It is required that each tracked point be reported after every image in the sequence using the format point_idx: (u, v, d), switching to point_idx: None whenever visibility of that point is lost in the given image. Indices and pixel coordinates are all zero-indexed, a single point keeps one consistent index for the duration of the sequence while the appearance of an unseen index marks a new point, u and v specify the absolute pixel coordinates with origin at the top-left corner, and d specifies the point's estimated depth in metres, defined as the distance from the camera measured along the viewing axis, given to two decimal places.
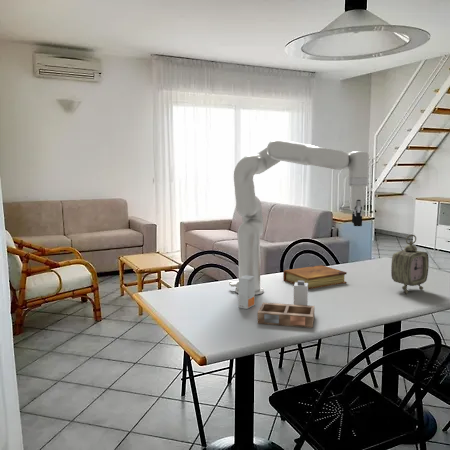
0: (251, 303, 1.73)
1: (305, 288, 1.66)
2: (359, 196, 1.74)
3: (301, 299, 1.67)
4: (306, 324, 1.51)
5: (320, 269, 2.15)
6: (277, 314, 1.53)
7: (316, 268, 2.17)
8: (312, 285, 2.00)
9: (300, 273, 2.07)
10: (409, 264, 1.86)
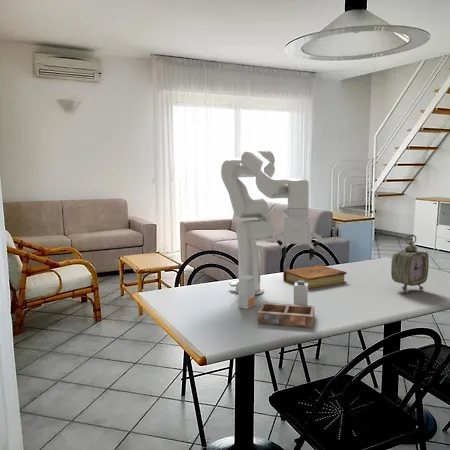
0: (251, 303, 1.73)
1: (305, 288, 1.66)
2: (311, 227, 1.62)
3: (301, 299, 1.67)
4: (306, 324, 1.51)
5: (320, 269, 2.15)
6: (277, 314, 1.53)
7: (316, 268, 2.17)
8: (312, 285, 2.00)
9: (300, 273, 2.07)
10: (409, 264, 1.86)
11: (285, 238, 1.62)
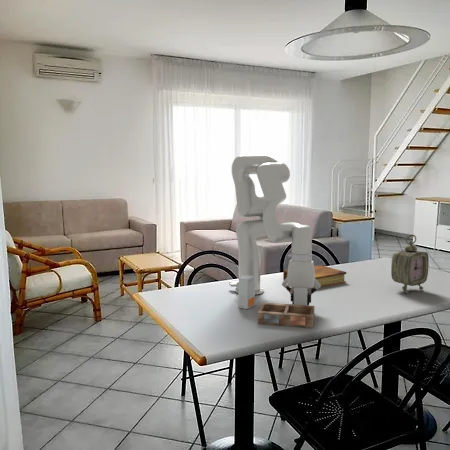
0: (251, 303, 1.73)
1: (305, 288, 1.66)
2: (314, 271, 1.67)
3: (301, 299, 1.67)
4: (306, 324, 1.51)
5: (320, 269, 2.15)
6: (277, 314, 1.53)
7: (316, 268, 2.17)
8: None
9: None
10: (409, 264, 1.86)
11: (289, 282, 1.67)
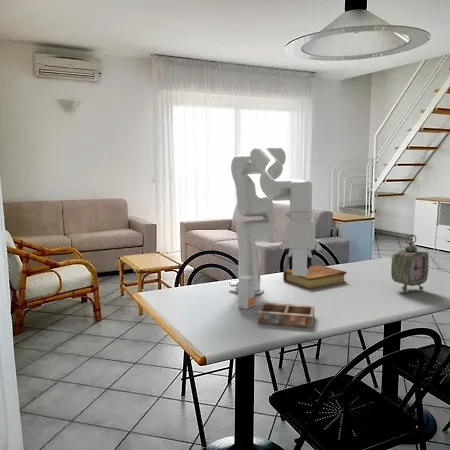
0: (251, 303, 1.73)
1: (305, 249, 1.52)
2: None
3: (301, 262, 1.53)
4: (306, 324, 1.51)
5: (320, 269, 2.15)
6: (277, 314, 1.53)
7: (315, 268, 2.17)
8: (313, 285, 2.00)
9: None
10: (409, 264, 1.86)
11: (287, 243, 1.53)
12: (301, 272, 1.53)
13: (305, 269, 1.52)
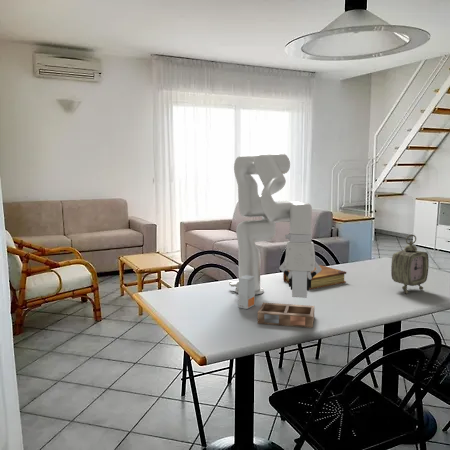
0: (251, 303, 1.73)
1: None
2: None
3: (301, 284, 1.53)
4: (306, 324, 1.51)
5: None
6: (277, 314, 1.53)
7: (315, 268, 2.17)
8: (314, 285, 2.00)
9: None
10: (409, 264, 1.86)
11: (287, 265, 1.53)
12: (301, 294, 1.54)
13: (305, 291, 1.53)
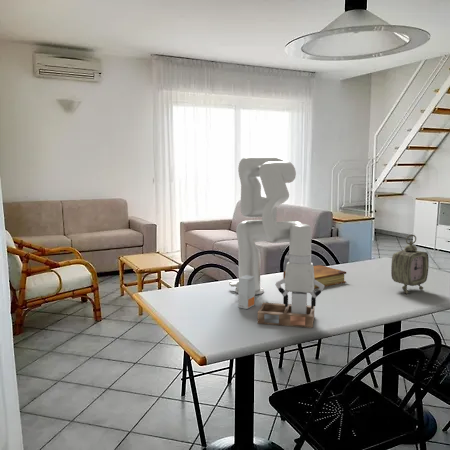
0: (251, 303, 1.73)
1: (304, 296, 1.54)
2: None
3: (300, 309, 1.55)
4: (306, 324, 1.51)
5: (319, 269, 2.15)
6: (277, 314, 1.53)
7: (315, 268, 2.17)
8: (314, 285, 2.00)
9: None
10: (409, 264, 1.86)
11: (286, 286, 1.54)
12: None
13: None
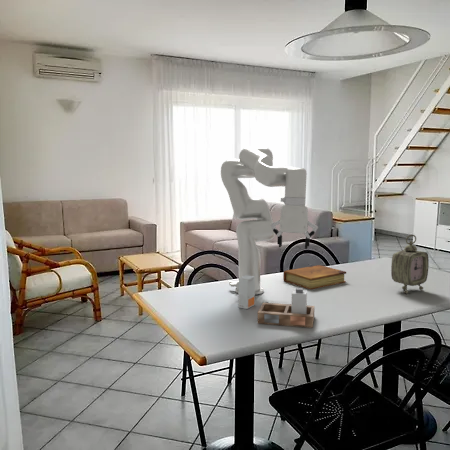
0: (251, 303, 1.73)
1: (304, 296, 1.54)
2: None
3: (300, 309, 1.55)
4: (306, 324, 1.51)
5: (319, 269, 2.15)
6: (277, 314, 1.53)
7: (315, 268, 2.17)
8: (314, 285, 2.00)
9: (301, 273, 2.06)
10: (409, 264, 1.86)
11: (281, 227, 1.62)
12: None
13: None
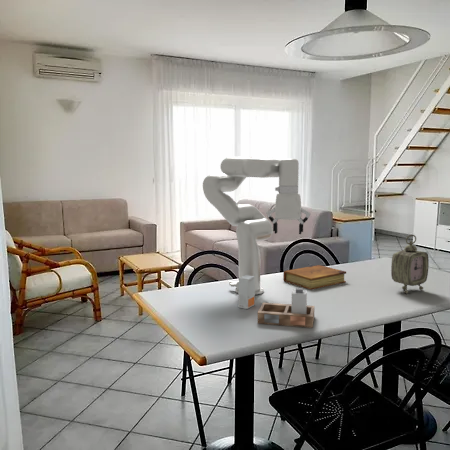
0: (251, 303, 1.73)
1: (304, 296, 1.54)
2: None
3: (300, 309, 1.55)
4: (306, 324, 1.51)
5: (319, 269, 2.15)
6: (277, 314, 1.53)
7: (315, 268, 2.17)
8: (315, 285, 2.00)
9: (301, 273, 2.06)
10: (409, 264, 1.86)
11: (276, 214, 1.73)
12: None
13: None
